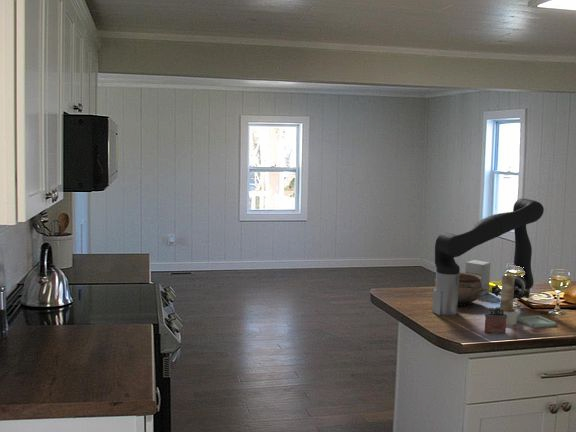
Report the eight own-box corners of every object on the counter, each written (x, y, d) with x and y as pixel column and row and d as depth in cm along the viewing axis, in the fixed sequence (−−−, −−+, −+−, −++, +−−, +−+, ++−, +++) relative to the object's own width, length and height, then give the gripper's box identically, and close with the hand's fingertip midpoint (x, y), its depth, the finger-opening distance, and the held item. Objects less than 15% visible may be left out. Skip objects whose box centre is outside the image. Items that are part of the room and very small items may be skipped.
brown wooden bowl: (423, 301, 285) (424, 274, 283) (443, 294, 299) (445, 269, 297) (476, 312, 268) (477, 284, 267) (495, 305, 282) (497, 277, 281)
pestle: (503, 323, 250) (507, 278, 248) (496, 320, 255) (499, 275, 253) (514, 323, 252) (517, 278, 250) (506, 319, 256) (509, 275, 254)
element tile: (483, 290, 311) (484, 280, 311) (507, 288, 318) (507, 278, 317) (506, 297, 298) (506, 287, 297) (530, 295, 304) (531, 285, 304)
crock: (502, 326, 248) (503, 312, 248) (490, 321, 256) (491, 307, 255) (520, 325, 251) (521, 311, 250) (507, 319, 258) (508, 306, 258)
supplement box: (471, 290, 310) (473, 259, 309) (489, 293, 305) (491, 262, 303) (463, 293, 303) (465, 261, 302) (481, 296, 298) (483, 264, 296)
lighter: (503, 333, 240) (505, 306, 239) (507, 335, 237) (509, 309, 235) (482, 332, 240) (484, 306, 239) (485, 335, 236) (487, 308, 235)
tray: (532, 329, 246) (533, 324, 246) (514, 321, 256) (515, 316, 256) (556, 327, 249) (557, 323, 249) (538, 320, 259) (538, 315, 259)
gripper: (497, 276, 271) (490, 283, 257) (533, 280, 264) (527, 288, 250) (496, 293, 272) (488, 301, 257) (532, 298, 265) (526, 306, 251)
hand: (507, 294), depth 254 cm, fingers open, 8 cm apart
